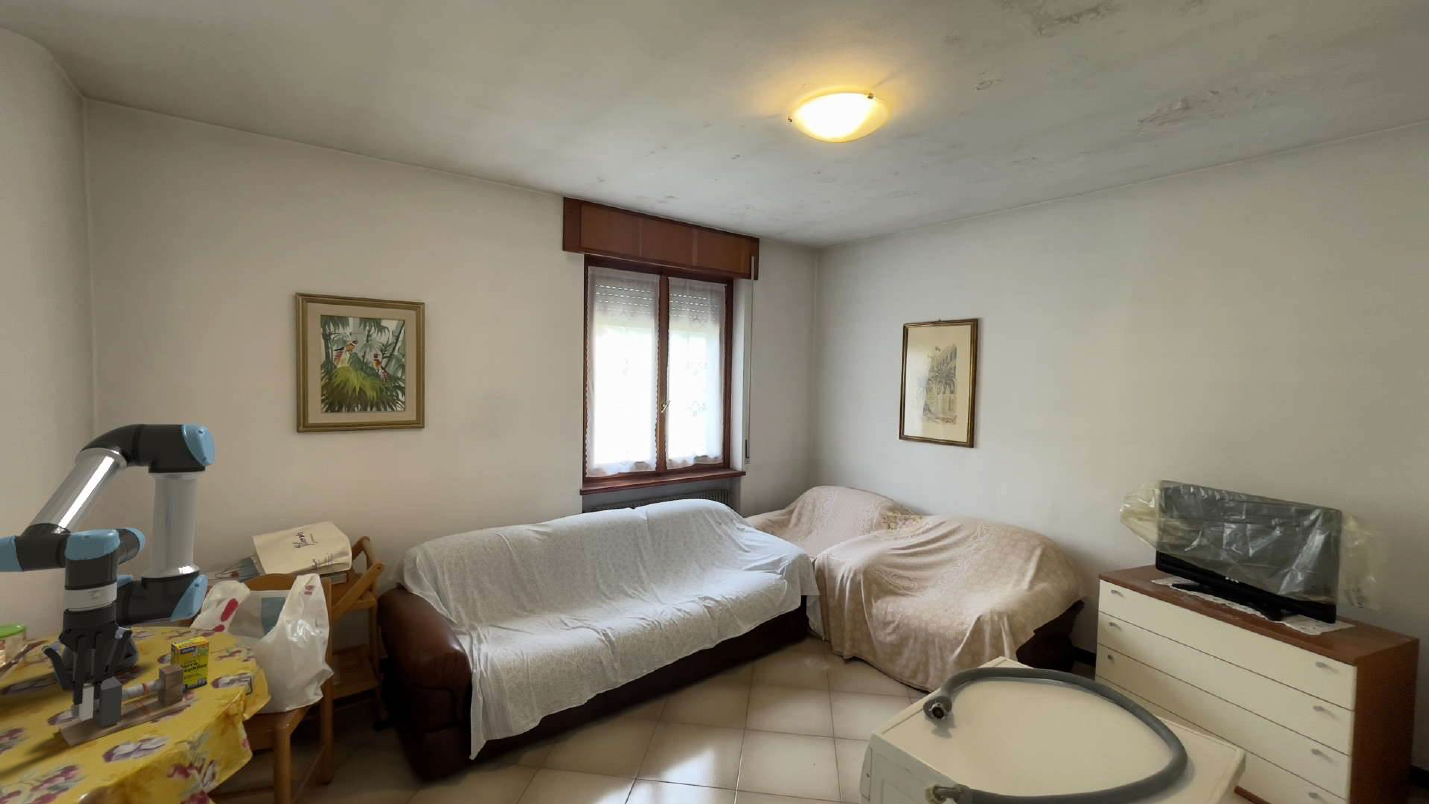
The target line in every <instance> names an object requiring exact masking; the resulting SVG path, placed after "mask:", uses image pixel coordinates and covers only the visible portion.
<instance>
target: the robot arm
mask: <svg viewBox="0 0 1429 804" xmlns="http://www.w3.org/2000/svg"><path fill="white" fill-rule="evenodd" d="M215 457H216V444H215V440H214V436H213V435H212V432H211V431H210V429H209V428H208V427H206V426H204V425H199V424H188V423H184V424H173V423H172V424H171V423H170V424H168V423H165V424H161V423H160V424H159V423H158V424H157V423H155V424H154V423H153V424H152V423H148V424H147V423H134V424H133V423H132V424H128V425H124V426H123V425H122V426H118V427H116V428H114V429H112V430H109V431H107V432H104V433H103V434H100V435H99V436H97V437H95V438H94V439H93V440H91V441H90V442H88V443H87V444H86V445H85V446H83V448H81V450H80V451H79V452H78V453H77V455H76V456H75V458H74V467H73V468H72V470H71V471H70V472H69V474H67V476H66V477H65V478H64V479H63V480H62V482H61V483H60V484H59V486H58V487H57V488H56V490H55V491H54V493H53V494H52V495H51V497H50V498H49V499H48V500H47V501H46V502H45V504H44V505H43V506H42V508H41V509H40V510H39V512H38V513H37V514H36V515H35V516H34V518H33V519H32V520H31V522H30V523H29V524H28V525H27V527H26V528H25V529H24V530H23V532H22V533H21V534H20V535H15V534H13V535H12V536H11V535H9V536H4V537H2V538H0V573H19V572H20V573H25V572H33V571H45V570H46V571H47V570H57V569H59V570H60V569H64V593H63V605H62V606H63V608H65V610H63V612H62V630H61V632H60V633H59V635H58V639H57V640H56V641H54V642H52V643H51V644H50V645H44V646H43V647H42V648H41V651H42V653H43V654H44V655H45V656H46V657H48V658H49V660H50V662H51V666H52V668H53V679H54V680H55V681H57V682H58V685H59V687H60V688H61V690H62V691H64V692H65V691H71V690H72V704H75V705H79V704H80V706H79V715H78V717H79V719H80V720H82V721H83V720H86V719H89V718H93V700H96V699H99V698H100V696H101V684H102V683H103V681H104V680H106V679H110V678H112V677H113V676H114V677H115V673H118V672H121V671H124V670H125V669H128V668H130V667H132V666H133V665H135V664H136V663H138V662H139V659H140V651H139V648H138V646H137V644H136V641H135V640H134V639H135V638H134V637H133V632H134V631H133V630H132V626H139V625H147V624H156V623H157V624H158V623H168V622H172V623H173V622H175V621H181V620H189V619H191V618H193V617H194V616H195V615H197V613H199V610H200V608H201V607H202V605H203V602H204V601H205V598H206V594H207V590H208V585H209V581H208V576H207V575H206V574H202V573H201V574H200V566H198V565H197V564H196V563H194V547H195V546H194V544H195V531H196V528H195V527H196V512H197V511H196V510H197V497H198V496H197V495H198V479H199V478H200V477H201V476H202V475H203V474H205V472H206V467H210V466H212V465H213V464H214V463H215ZM132 467H133V468H135V467H141V468H142V467H146V468H147V467H148V470H147V471H148V472H147V475H149V476H150V477H152V478H153V479H154V481H155V484H154V486H155V487H154V497H153V511H152V512H153V516H152V528H151V529H152V530H151V531H152V532H151V543H150V544H151V548H150V559H149V560H150V561H149V562H150V564H149V568H148V569H146V570H145V571H144V572H143V573H142V574H141V577H140V578H141V579H139V580H134V579H135V578H134V576H133V575H132V574H119V573H118V572H119V571H118V570H119V566H120V565H122V564H124V563H126V562H128V561H130V560H132V559H134V558H135V557H136V556H138V554H140V553H141V552H142V551H143V550H144V548H145V545H146V537H145V535H144V534H143V532H142V531H140V530H139V529H137V528H134V527H127V526H126V527H125V526H124V527H118V528H114V529H109V528H101V529H89V530H88V529H87V530H83V531H78V530H79V528H80V527H81V525H82V524H83V522H84V521H85V519H86V518H87V517H88V516H89V514H90V513H91V511H92V510H93V509H94V507H95V505H97V502H98V501H99V500H100V498H101V496H102V495H103V494H104V493H105V491H106V490H107V488H108V487H109V485H110V484H111V483H112V481H113V480H114V478H115V477H117V476H119V475H121V474H123V473H125V471H126V470H127V468H132ZM77 531H78V532H77ZM62 646H64V647H63V650H62ZM60 653H61V654H60ZM86 680H90V682H89V683H85V681H86Z"/></svg>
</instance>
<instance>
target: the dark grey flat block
mask: <svg viewBox="0 0 1429 804" xmlns="http://www.w3.org/2000/svg"><path fill="white" fill-rule="evenodd" d="M122 690H123V684H122V683H121V682H120V680H118V679H117V678H116V677H115V675H114V676H113V677H112V678H110V679H106V680H104V681H103V683H102V684H101V696H100V698H99V709H98V710H94V711H93V719H94V720H95V721H96V723H97V724H98V725H99V726H100V727H101V728H102V727H105V726H108V725H111V724H114V723H117V722H121V707H123V706H122V703H123V702H122Z"/></svg>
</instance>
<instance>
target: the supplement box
mask: <svg viewBox="0 0 1429 804" xmlns="http://www.w3.org/2000/svg"><path fill="white" fill-rule="evenodd" d="M209 650H210V641H209V640H208V639H206V638H204V637H203V636H202V635H201V636H197V637H193V638H189V639H185V640H182V641H178V642H171V644H170V664H169V665H172V664H178V665H179V666H180V667H182V668H183V669H184V672H183V692H184V691H185V692H186V691H188V690H191V689H195V688H198V687H201V686H202V687H203V686H206V685H207V684H208V672H209V654H210V652H209Z"/></svg>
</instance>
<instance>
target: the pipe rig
mask: <svg viewBox="0 0 1429 804" xmlns="http://www.w3.org/2000/svg"><path fill="white" fill-rule="evenodd" d="M183 672H184V669H183V668H182V667H180V666H179V665H178V664H172V665H170V664H169V665H166V666H162V667H159V668H158V679H155V680H151V681H148V682H146V681H145V682H143V683H140V684H138V685H137V684H136V685H133V686H129V687H126V688H122V703H123V702H126V701H130V700H133V699H136V698H140V697H145V696H148V695H150V694H153V693H156V692H157V693H158V694H157V696H152V697H150V698H147V699H143V700H139V701H135V702H134V703H130V704H127V705H123V706H121V722H117V723H114V724H111V725H108V726H105V727H102V728H101V727H100V726H99V725H98V724H97V723H96V721H95V720H94V719H93V718H89V719H86V720H83V721H82V720H81V719H77V720H75V721H72V722H69V723H64V724H62V725H59V726H58V732H59V733H60V735H61V737H63V739H64V740H65V742H66V743H67V744H68V746H69V747H70V748H72V747H74V746H77V745H81V744H83V743H86V742H89V741H93V740H95V739H98V738H99V739H100V738H102V737H104V736H107V735H110V734H113V733H116V732H119V731H122V730H125V729H129V728H131V727H134V726H138V725H140V724H143V723H146V722H149V721H152V720H155V719H158V718H162V717H165V716H168V715H171V714H173V713H176V712H179V711H180V712H181V711H182V710H186V709H187V703H185V702H184V701H183V693H184V691H183ZM79 706H80V704H79V705H75V704H74V703H71V707H70V710H71V711H70V713H71V717H72V718H75V717H77V716H78V717H79ZM98 709H99V699H96V700H93V711H94V710H98Z"/></svg>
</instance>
